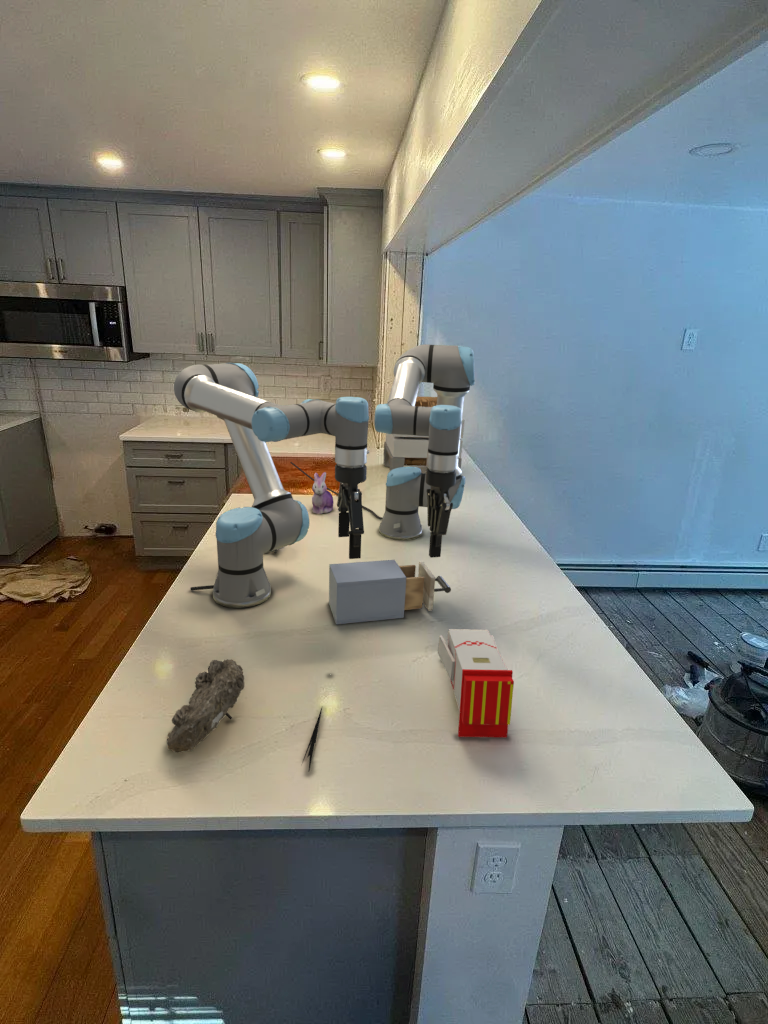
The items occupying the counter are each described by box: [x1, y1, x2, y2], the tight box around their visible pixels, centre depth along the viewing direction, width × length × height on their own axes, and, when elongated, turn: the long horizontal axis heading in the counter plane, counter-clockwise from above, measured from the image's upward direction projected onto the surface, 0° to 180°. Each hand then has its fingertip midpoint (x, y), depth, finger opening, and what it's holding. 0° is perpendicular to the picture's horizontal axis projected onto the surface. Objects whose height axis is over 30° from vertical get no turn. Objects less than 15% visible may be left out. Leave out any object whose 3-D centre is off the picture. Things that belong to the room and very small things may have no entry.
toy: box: [437, 628, 515, 738], centre depth 117 cm, size 12×13×30 cm
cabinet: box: [328, 559, 406, 625], centre depth 147 cm, size 18×11×12 cm, turn 105°
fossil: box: [166, 658, 245, 754], centre depth 106 cm, size 22×10×15 cm
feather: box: [301, 673, 332, 771], centre depth 108 cm, size 2×28×2 cm
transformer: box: [383, 395, 465, 472], centre depth 268 cm, size 34×33×41 cm
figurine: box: [311, 471, 334, 515], centre depth 216 cm, size 9×10×15 cm
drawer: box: [398, 561, 452, 612], centre depth 149 cm, size 22×10×10 cm, turn 105°
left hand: (348, 546), depth 141 cm, fingers open, 13 cm apart
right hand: (434, 556), depth 148 cm, fingers closed
